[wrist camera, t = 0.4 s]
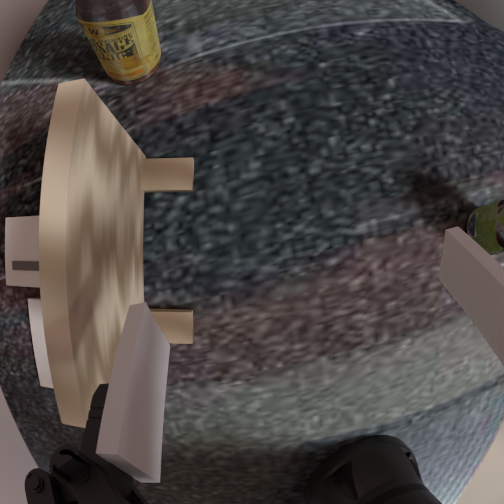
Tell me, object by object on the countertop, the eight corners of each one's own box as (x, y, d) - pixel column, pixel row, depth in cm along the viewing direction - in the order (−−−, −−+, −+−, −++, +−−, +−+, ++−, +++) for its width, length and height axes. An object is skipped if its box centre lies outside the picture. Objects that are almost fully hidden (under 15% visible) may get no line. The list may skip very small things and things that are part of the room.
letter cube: (84, 281, 28) (56, 288, 22) (37, 279, 28) (5, 285, 21) (84, 219, 28) (56, 213, 22) (37, 220, 27) (5, 216, 21)
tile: (121, 394, 29) (119, 398, 28) (43, 383, 28) (40, 386, 27) (112, 302, 28) (109, 304, 27) (31, 297, 27) (27, 298, 26)
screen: (193, 344, 29) (173, 438, 13) (131, 342, 29) (62, 423, 13) (194, 156, 29) (172, 69, 13) (130, 158, 28) (58, 83, 12)
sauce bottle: (99, 82, 28) (18, -39, 8) (126, 39, 28) (77, -89, 8) (149, 95, 28) (90, -48, 9) (175, 50, 28) (152, -96, 9)
